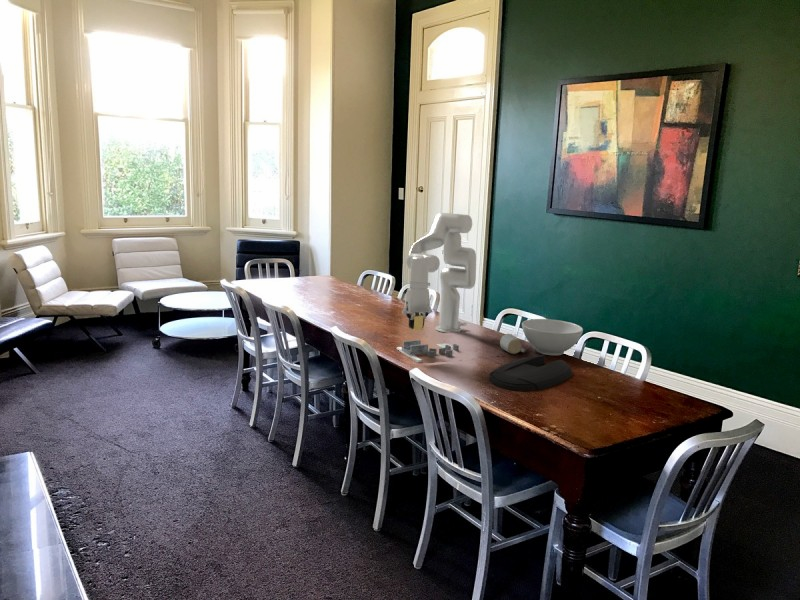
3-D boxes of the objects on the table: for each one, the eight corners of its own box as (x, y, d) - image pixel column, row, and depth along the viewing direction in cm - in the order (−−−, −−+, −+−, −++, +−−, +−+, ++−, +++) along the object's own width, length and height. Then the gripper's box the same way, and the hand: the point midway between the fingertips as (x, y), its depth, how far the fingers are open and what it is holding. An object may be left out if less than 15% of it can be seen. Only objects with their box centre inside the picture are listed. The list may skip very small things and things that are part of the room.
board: (445, 345, 281) (446, 337, 280) (469, 357, 264) (469, 349, 263) (396, 349, 270) (397, 341, 270) (417, 362, 253) (417, 354, 252)
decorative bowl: (521, 341, 295) (523, 316, 292) (579, 347, 288) (582, 322, 286) (517, 356, 269) (519, 329, 267) (580, 363, 263) (583, 336, 260)
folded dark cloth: (473, 380, 235) (474, 368, 234) (526, 360, 265) (527, 349, 264) (531, 398, 219) (532, 384, 218) (580, 374, 249) (582, 362, 248)
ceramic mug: (507, 355, 270) (509, 338, 268) (498, 350, 277) (500, 333, 276) (528, 354, 273) (530, 337, 272) (519, 349, 281) (521, 333, 279)
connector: (418, 327, 265) (419, 309, 263) (422, 329, 261) (423, 311, 260) (409, 328, 263) (410, 310, 261) (414, 330, 259) (415, 312, 258)
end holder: (419, 348, 269) (419, 339, 269) (427, 353, 262) (428, 344, 262) (401, 350, 266) (402, 341, 265) (409, 355, 259) (410, 346, 258)
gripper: (431, 283, 265) (429, 324, 269) (396, 284, 258) (394, 327, 262) (440, 286, 259) (437, 328, 262) (404, 287, 251) (402, 331, 255)
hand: (416, 327), depth 262 cm, fingers closed on connector, 4 cm apart
